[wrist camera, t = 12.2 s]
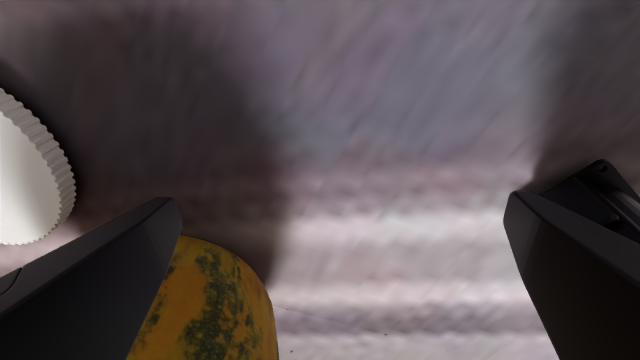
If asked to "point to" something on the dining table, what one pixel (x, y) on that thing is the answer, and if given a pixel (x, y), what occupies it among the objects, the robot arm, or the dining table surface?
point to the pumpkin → (208, 310)
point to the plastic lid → (30, 176)
